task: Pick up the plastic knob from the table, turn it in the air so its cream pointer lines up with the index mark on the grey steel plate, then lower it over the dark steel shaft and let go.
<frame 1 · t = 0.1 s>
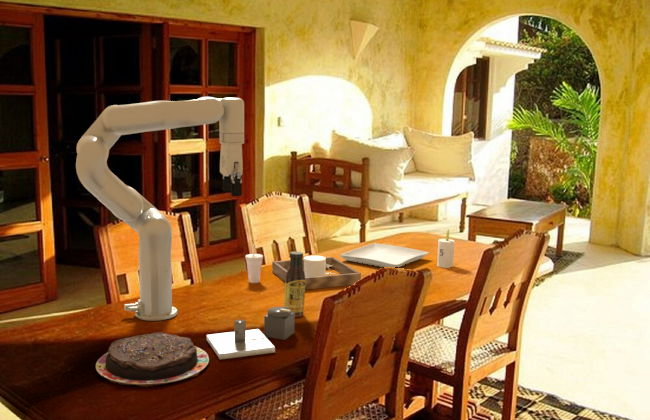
hand: (232, 193, 219), 37 cm above the table, tool pointing down, fingers open, 9 cm apart
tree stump: (315, 279, 262), resting in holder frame
knob: (279, 334, 202), on the table
sauce bottle: (294, 315, 219), on the table
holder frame: (315, 277, 262), on the table
chocolate cake: (153, 366, 179), on the table
shaft base: (240, 346, 192), on the table
smoothie: (254, 282, 255), on the table
square plate: (384, 261, 291), on the table
candle: (444, 266, 283), on the table
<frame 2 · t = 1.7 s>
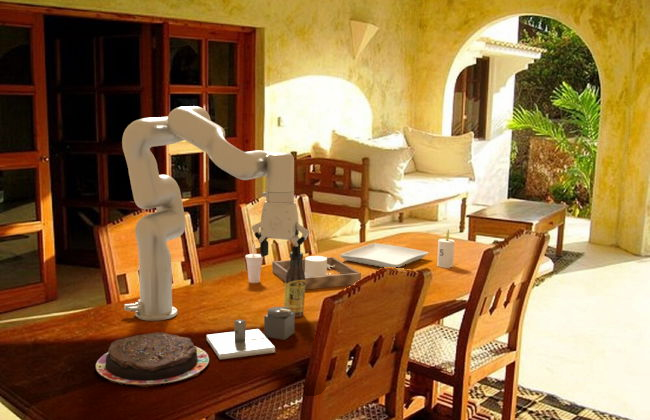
hand: (280, 257, 198), 23 cm above the table, tool pointing down, fingers open, 9 cm apart
nothing on the table moved.
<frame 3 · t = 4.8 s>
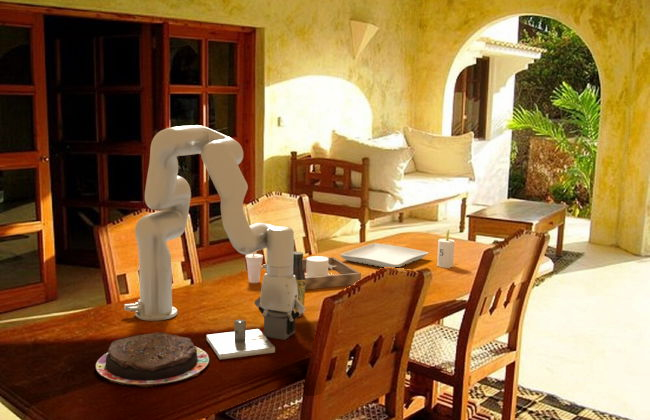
hand: (279, 330, 202), 1 cm above the table, tool pointing down, fingers closed on knob, 6 cm apart
knob: (279, 334, 202), on the table, touching gripper
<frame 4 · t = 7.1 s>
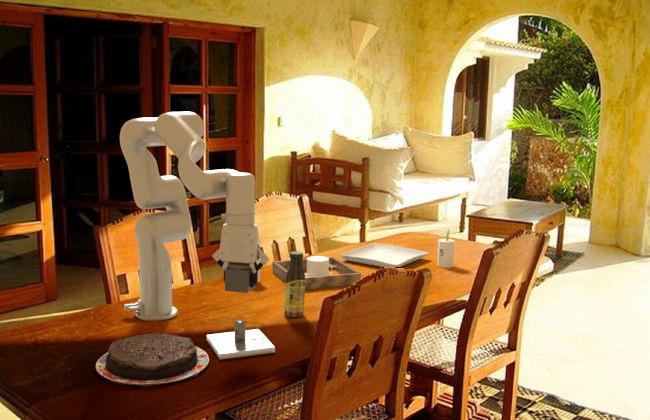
hand: (240, 284, 189), 17 cm above the table, tool pointing down, fingers closed on knob, 6 cm apart
knob: (240, 288, 190), point 16 cm above the table, touching gripper
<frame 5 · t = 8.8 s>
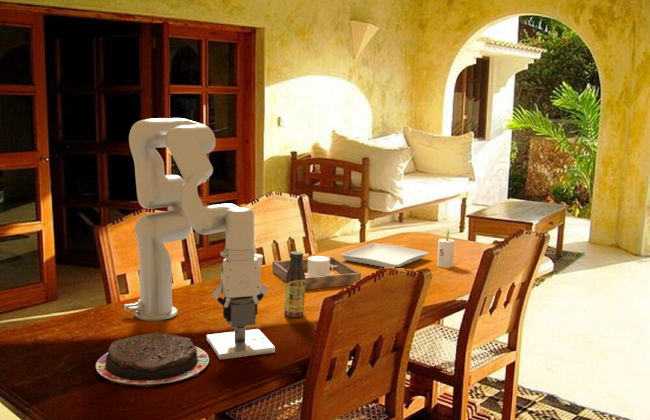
hand: (240, 318, 191), 8 cm above the table, tool pointing down, fingers closed on knob, 6 cm apart
knob: (240, 322, 191), point 7 cm above the table, touching gripper
when the fingers open (4 cm above the table, at t = 10.5 s): knob stays where it is, resting on shaft base.
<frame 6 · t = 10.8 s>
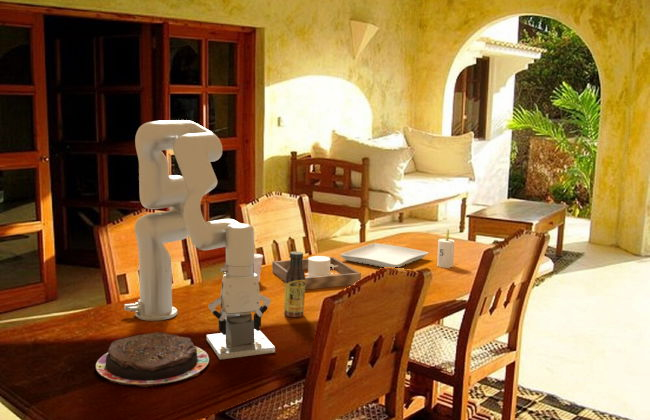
hand: (240, 331, 192), 4 cm above the table, tool pointing down, fingers open, 9 cm apart
knob: (239, 340, 192), point 2 cm above the table, touching shaft base
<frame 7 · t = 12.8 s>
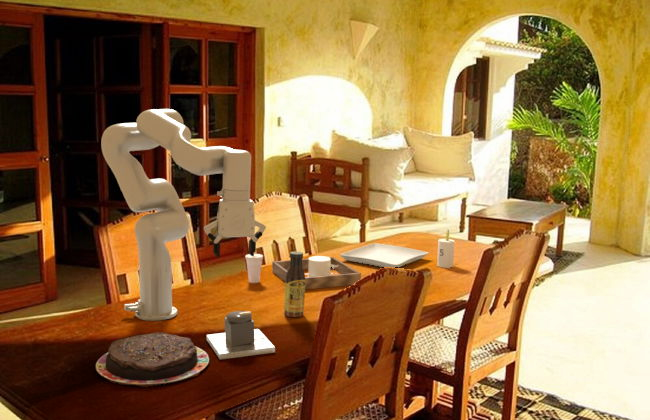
hand: (234, 255, 197), 23 cm above the table, tool pointing down, fingers open, 9 cm apart
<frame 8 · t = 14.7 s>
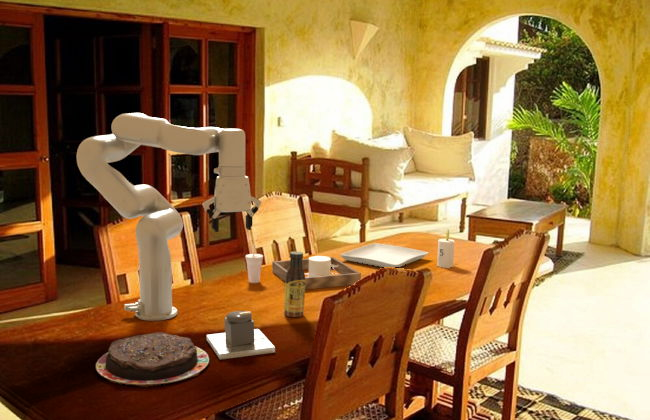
hand: (232, 230, 206), 28 cm above the table, tool pointing down, fingers open, 9 cm apart
at the end: knob 0.0 cm off-centre on the shaft base, point 1.6 cm above the shaft base's base; knob tilted 2°; the gripper is holding nothing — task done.
